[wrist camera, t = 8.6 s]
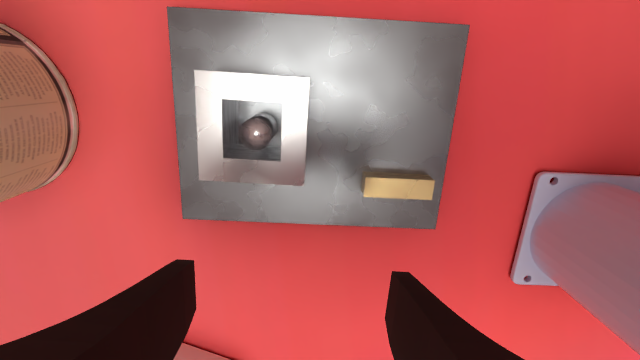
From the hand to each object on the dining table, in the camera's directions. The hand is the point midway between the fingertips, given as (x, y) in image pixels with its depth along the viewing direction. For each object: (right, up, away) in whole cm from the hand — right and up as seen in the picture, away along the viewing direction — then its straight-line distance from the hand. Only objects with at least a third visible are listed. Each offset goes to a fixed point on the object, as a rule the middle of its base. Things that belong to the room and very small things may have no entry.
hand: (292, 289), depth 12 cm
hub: (-2, +7, +7) cm, 11 cm away
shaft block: (+1, +7, +8) cm, 11 cm away
